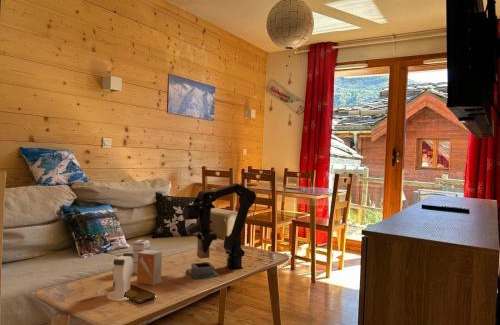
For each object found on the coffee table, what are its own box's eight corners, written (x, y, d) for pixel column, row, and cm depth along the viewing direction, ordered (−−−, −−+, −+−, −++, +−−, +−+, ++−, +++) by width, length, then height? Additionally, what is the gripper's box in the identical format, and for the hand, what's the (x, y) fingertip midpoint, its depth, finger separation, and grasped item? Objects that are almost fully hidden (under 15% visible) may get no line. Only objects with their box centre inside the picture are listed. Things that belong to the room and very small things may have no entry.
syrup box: (143, 274, 166) (144, 242, 166) (131, 273, 167) (132, 241, 167) (149, 270, 171) (150, 240, 171) (138, 269, 172) (139, 238, 172)
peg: (206, 255, 173) (206, 238, 173) (209, 257, 169) (209, 240, 169) (197, 256, 171) (197, 239, 171) (200, 258, 167) (200, 241, 167)
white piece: (114, 288, 147) (115, 251, 147) (142, 290, 147) (143, 252, 147) (101, 300, 135) (102, 259, 135) (131, 301, 135) (133, 261, 135)
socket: (210, 268, 178) (210, 260, 178) (219, 276, 167) (219, 267, 167) (186, 271, 173) (186, 262, 172) (193, 279, 162) (194, 270, 162)
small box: (136, 283, 154) (137, 252, 154) (145, 278, 160) (146, 249, 160) (153, 285, 152) (154, 254, 152) (161, 281, 158) (162, 251, 158)
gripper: (182, 215, 174) (181, 248, 175) (193, 222, 158) (192, 258, 158) (204, 214, 179) (203, 246, 179) (217, 221, 162) (216, 256, 163)
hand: (203, 251), depth 170 cm, fingers closed on peg, 4 cm apart
